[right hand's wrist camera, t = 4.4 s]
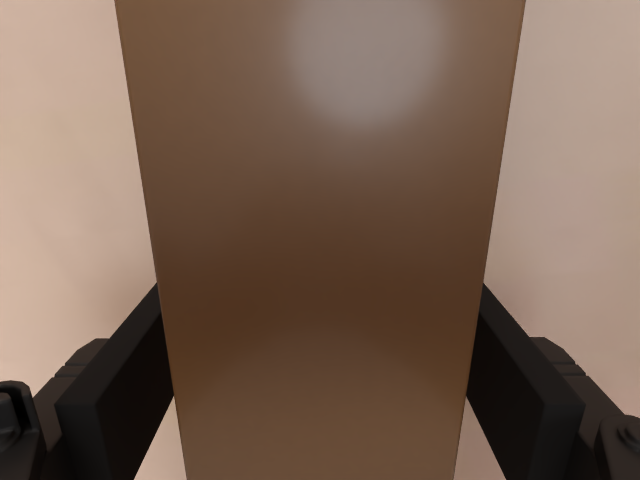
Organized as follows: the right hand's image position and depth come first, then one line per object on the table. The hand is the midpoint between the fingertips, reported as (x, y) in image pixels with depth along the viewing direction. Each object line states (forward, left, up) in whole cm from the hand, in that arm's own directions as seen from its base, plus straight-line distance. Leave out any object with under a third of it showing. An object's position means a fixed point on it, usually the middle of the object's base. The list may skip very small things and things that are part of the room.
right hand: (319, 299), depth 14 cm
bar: (+32, 0, -1) cm, 32 cm away
